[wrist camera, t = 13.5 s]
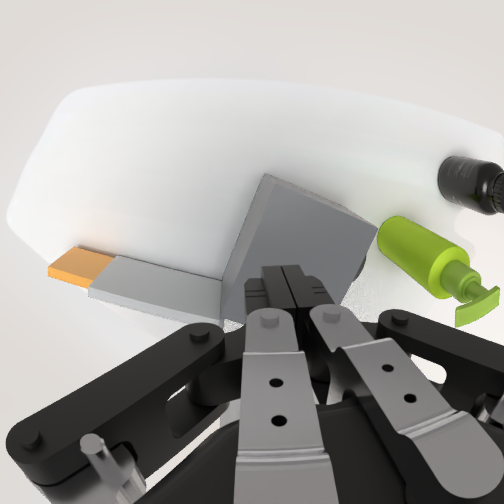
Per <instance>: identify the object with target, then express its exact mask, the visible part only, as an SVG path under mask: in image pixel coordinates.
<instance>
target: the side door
mask: <svg viewBox="0 0 504 504" xmlns="http://www.w3.org/2000/svg"><path fill="white" fill-rule="evenodd" d="M48 276H49V277H52V278H55V279H59V280H62V281H65V282H68V283H71V284H74V285H77V286H81V287H84V288H87V289H88V297H91V298H95V299H98V300H101V301H105V302H108V303H111V304H115V305H119V306H122V307H126V308H129V309H133V310H137V311H140V312H144V313H148V314H152V315H156V316H160V317H164V318H168V319H172V320H176V321H180V322H184V323H188V324H192V323H199V322H206V323H212V324H215V325H217V326H219V327H221V328H222V329H223V327H224V318H222V317H220V314H221V295H222V281H219V280H215V279H210V278H206V277H202V276H198V275H194V274H190V273H185V272H181V271H177V270H173V269H169V268H165V267H161V266H157V265H153V264H149V263H145V262H142V261H138V260H134V259H130V258H126V257H122V256H119V255H117V256H116V257H115V258H113V257H110V256H106V255H102V254H99V253H95V252H91V251H88V250H84V249H80V248H77V247H73V248H72V249H70V250H69V251H68V252H66V253H65V254H64V255H62V256H61V257H60V258H59V259H57V260H56V261H55V262H53V263H52V264H51V265H50V266H48Z"/></svg>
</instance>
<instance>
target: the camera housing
mask: <svg viewBox="0 0 504 504" xmlns="http://www.w3.org/2000/svg"><path fill="white" fill-rule="evenodd" d="M377 230H378V228H377V227H376V226H374V225H372V224H371V223H369V222H368V221H366V220H364V219H363V218H361V217H360V216H358V215H356V214H355V213H353V212H352V211H350V210H348V209H347V208H345V207H343V206H341V205H338V204H336V203H334V202H332V201H329V200H327V199H325V198H323V197H320V196H318V195H316V194H313V193H311V192H309V191H306V190H304V189H302V188H299V187H297V186H295V185H292V184H290V183H287V182H285V181H282V180H280V179H278V178H275V177H273V176H270V175H268V174H265V173H264V175H263V177H262V180H261V182H260V185H259V187H258V190H257V192H256V194H255V197H254V199H253V202H252V204H251V207H250V209H249V212H248V214H247V217H246V219H245V222H244V224H243V227H242V229H241V232H240V234H239V237H238V239H237V242H236V244H235V247H234V249H233V252H232V254H231V257H230V259H229V262H228V264H227V267H226V269H225V272H224V274H223V278H222V295H221V314H220V317H222V318H225V319H228V320H231V321H235V322H238V323H241V324H244V325H245V301H244V284H245V282H246V281H247V280H248V279H249V278H261V266H273V265H295V264H299V265H300V267H301V269H302V271H303V273H304V275H305V276H310V275H312V276H314V277H316V278H317V279H319V280H321V282H322V283H323V285H324V287H325V288H326V290H327V291H328V293H329V295H330V296H331V298H332V299H333V301H334V303H335V304H336V305H340V304H341V302H342V300H343V298H344V296H345V294H346V292H347V291H348V289H349V287H350V285H351V283H352V282H353V281H354V280H356V279H357V277H358V276H359V275H360V273H361V271H362V269H363V267H364V264H365V261H366V254H367V251H368V249H369V247H370V245H371V243H372V241H373V239H374V237H375V234H376V232H377Z"/></svg>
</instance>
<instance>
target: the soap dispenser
mask: <svg viewBox="0 0 504 504" xmlns="http://www.w3.org/2000/svg"><path fill="white" fill-rule="evenodd" d="M377 242H378V247H379V249H380V251H381V252H382V253H383V254H384V255H385V256H387V257H388V258H389V259H390V260H391V261H393V262H394V263H395V264H396V265H398V266H399V267H400V268H401V269H402V270H404V271H405V272H406V273H407V274H408V275H410V276H411V277H412V278H413V279H414V280H416V281H417V282H418V283H419V284H420V285H421V286H423V287H424V288H425V289H426V290H427V291H428V292H430V293H431V294H432V295H433V296H434V297H436V298H438V299H447V298H449V297H452V296H453V297H454V298H455V299H457V300H458V301H459V302H461V303H466V304H464V305H461V306H459V307H457V308H456V311H455V327H460V326H463V325H466V324H469V323H471V322H473V321H476V320H477V319H479V318H481V317H483V316H484V315H486V314H487V313H489V312H490V311H491V310H493V309H494V308H495V307H497V306H498V305H499V294H500V293H499V292H500V288H499V287H497V286H495V287H494V288H492V289H491V290H489V291H488V290H487V289H486V288H484V287H483V286H481V277H480V274H479V273H478V272H476V271H475V270H473V269H472V268H470V261H469V256H468V254H467V252H466V251H465V250H464V249H463V248H461V247H459V246H457V245H455V244H454V243H452V242H450V241H448V240H446V239H445V238H443V237H441V236H439V235H437V234H435V233H433V232H432V231H430V230H428V229H426V228H424V227H422V226H420V225H418V224H416V223H414V222H412V221H410V220H408V219H406V218H404V217H401V216H395V217H391V218H389V219H388V220H386V221H385V222H384V223H383V225H382V226H381V228H380V230H379V233H378V238H377ZM471 300H472V301H471ZM470 301H471V302H470ZM468 302H469V303H468Z"/></svg>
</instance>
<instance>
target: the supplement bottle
mask: <svg viewBox="0 0 504 504" xmlns="http://www.w3.org/2000/svg"><path fill="white" fill-rule="evenodd" d="M439 187H440V190H441V192H442V194H443V196H444V197H445V198H446V199H447V200H449V201H450V202H453V203H455V204H458V205H461V206H464V207H466V208H469V209H472V210H474V211H477V212H479V213H482V214H485V215H494V214H496V213H498V212H500V213H504V170H503V169H502V168H501V167H500V166H499V165H498V164H496V163H493V162H488V161H483V160H477V159H471V158H465V157H458V156H454V157H450V158H448V159H447V160H446V161H445V162H444V163H443V165H442V167H441V169H440V172H439Z"/></svg>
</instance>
